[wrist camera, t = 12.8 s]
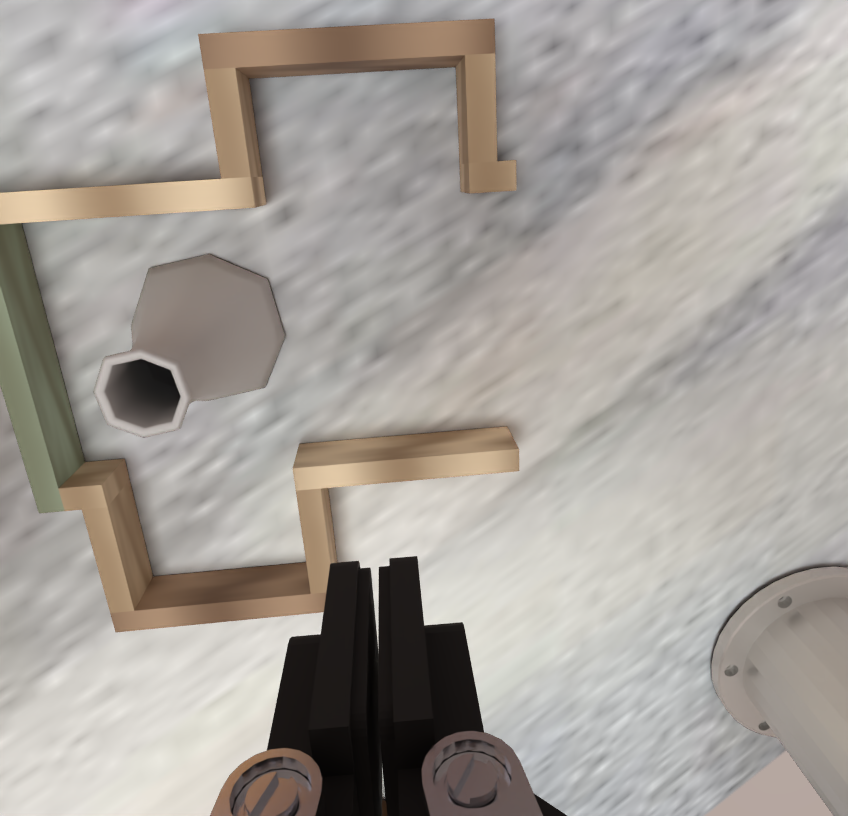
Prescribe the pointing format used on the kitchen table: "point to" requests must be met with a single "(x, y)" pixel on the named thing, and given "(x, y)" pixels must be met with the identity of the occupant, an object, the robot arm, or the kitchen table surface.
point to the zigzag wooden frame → (238, 188)
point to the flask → (190, 344)
